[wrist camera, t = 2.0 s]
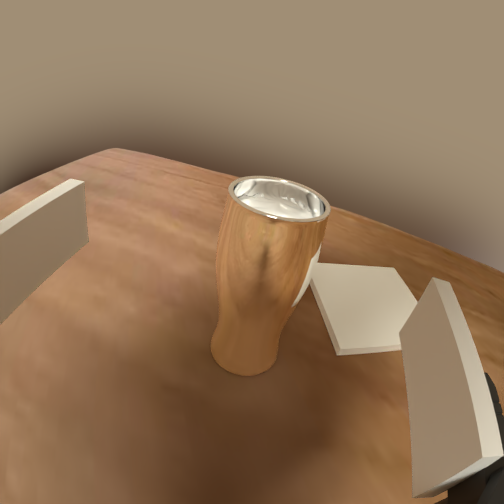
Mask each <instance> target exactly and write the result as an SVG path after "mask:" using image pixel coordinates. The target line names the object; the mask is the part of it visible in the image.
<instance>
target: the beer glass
mask: <svg viewBox="0 0 504 504" xmlns="http://www.w3.org/2000/svg"><path fill="white" fill-rule="evenodd" d="M330 211H331V208H330V205H329V203H328V202H327V200H326V199H325V198H323V196H321V195H320V194H319V193H317V192H316V191H314V190H312V189H310V188H308V187H306V186H304V185H301V184H299V183H296V182H293V181H290V180H286V179H281V178H276V177H269V176H249V177H243V178H239V179H237V180H235V181H233V182H232V183H231V184H230V185H229V188H228V195H227V199H226V204H225V208H224V212H223V216H222V220H221V225H220V230H219V236H218V242H217V252H216V283H217V295H218V305H219V319H218V324H217V326H216V329H215V331H214V333H213V336H212V339H211V343H210V349H211V353H212V356H213V358H214V359H215V361H216V362H217V363H218V364H219V365H220V366H221V367H222V368H223V369H225V370H227V371H229V372H231V373H233V374H237V375H242V376H253V375H258V374H261V373H263V372H265V371H267V370H268V369H269V368H270V367H271V366H272V365H273V364H274V362H275V360H276V358H277V353H278V342H279V336H280V333H281V331H282V328H283V327H284V325H285V323H286V322H287V320H288V318H289V317H290V315H291V314H292V312H293V311H294V309H295V308H296V306H297V304H298V303H299V301H300V299H301V298H302V296H303V294H304V292H305V290H306V288H307V287H308V285H309V283H310V280H311V278H312V275H313V273H314V270H315V267H316V265H317V261H318V258H319V255H320V251H321V248H322V243H323V239H324V235H325V230H326V226H327V221H328V217H329V214H330Z"/></svg>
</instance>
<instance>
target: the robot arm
mask: <svg viewBox="0 0 504 504" xmlns="http://www.w3.org/2000/svg"><path fill="white" fill-rule="evenodd" d="M88 242H89V238H88V228H87V217H86V204H85V186H84V182H83V181H79V180H75V179H69V180H67V181H65V182H64V183H62V184H60V185H58V186H56V187H55V188H53V189H51V190H49V191H48V192H46V193H44V194H42V195H41V196H39V197H37V198H36V199H34V200H32V201H31V202H29V203H27V204H26V205H24V206H23V207H21V208H19V209H18V210H16V211H15V212H13V213H11V214H10V215H8V216H7V217H5V218H4V219H2V220H1V221H0V325H1V324H2V323H3V322H4V320H5V319H6V318H7V317H8V316H9V315H10V314H11V313H12V312H13V311H14V310H15V309H16V308H17V307H18V306H19V305H20V304H21V303H22V302H23V301H24V300H25V299H26V298H27V297H28V296H29V295H30V294H31V293H32V292H34V291H35V290H36V289H37V288H38V287H39V286H40V285H41V284H42V283H43V282H44V281H45V280H46V279H47V278H48V277H49V276H51V275H52V274H53V273H54V272H55V271H56V270H57V269H58V268H59V267H61V266H62V265H63V264H64V263H65V262H66V261H67V260H68V259H70V258H71V257H72V256H73V255H74V254H75V253H76V252H78V251H79V250H80V249H81V248H82V247H83V246H85V245H86V244H87V243H88ZM399 337H400V343H401V350H402V357H403V364H404V371H405V379H406V387H407V397H408V407H409V418H410V433H411V452H412V498H425V497H434V496H436V495H438V494H440V493H442V492H444V491H446V490H448V497H447V498H445V499H443V500H441V501H439V502H437V503H435V504H504V416H503V415H502V409H501V405H500V404H499V397H498V394H497V390H496V387H495V385H494V383H493V382H492V380H491V378H490V377H489V375H488V374H487V373H484V371H483V368H482V365H481V362H480V359H479V356H478V353H477V350H476V347H475V344H474V341H473V339H472V336H471V333H470V331H469V328H468V325H467V323H466V320H465V318H464V315H463V313H462V310H461V308H460V305H459V303H458V301H457V298H456V296H455V294H454V291H453V289H452V287H451V285H450V282H447V281H444V280H441V279H438V278H435V277H432V279H431V280H430V282H429V284H428V286H427V288H426V289H425V291H424V293H423V295H422V296H421V298H420V300H419V301H418V303H417V305H416V306H415V308H414V310H413V311H412V313H411V314H410V316H409V318H408V319H407V321H406V322H405V324H404V326H403V327H402V329H401V330H400V332H399Z"/></svg>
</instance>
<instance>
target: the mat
mask: <svg viewBox="0 0 504 504" xmlns="http://www.w3.org/2000/svg"><path fill="white" fill-rule="evenodd" d="M309 284H310V287H311V289H312V292H313V294H314V297H315V299H316V302H317V304H318V307H319V309H320V312H321V315H322V317H323V320H324V322H325V325H326V328H327V330H328V333H329V336H330V338H331V341H332V344H333V346H334V349H335V352H336V354H337V355H352V354H364V353H376V352H386V351H395V350H401V343H400V337H399V332H400V330H401V329H402V327H403V326H404V324H405V322H406V321H407V319H408V318H409V316H410V314H411V313H412V311H413V310H414V308H415V306H416V305H417V303H418V302H417V300H416V299H415V297H414V296H413V294H412V293H411V291H410V290H409V288H408V287H407V286H406V284H405V283H404V281H403V280H402V278H401V277H400V276H399V274H398V273H397V271H396V270H395V269H394V268H391V267H375V266H359V265H344V264H329V263H317V265H316V267H315V270H314V273H313V275H312V278H311V280H310V283H309Z"/></svg>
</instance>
